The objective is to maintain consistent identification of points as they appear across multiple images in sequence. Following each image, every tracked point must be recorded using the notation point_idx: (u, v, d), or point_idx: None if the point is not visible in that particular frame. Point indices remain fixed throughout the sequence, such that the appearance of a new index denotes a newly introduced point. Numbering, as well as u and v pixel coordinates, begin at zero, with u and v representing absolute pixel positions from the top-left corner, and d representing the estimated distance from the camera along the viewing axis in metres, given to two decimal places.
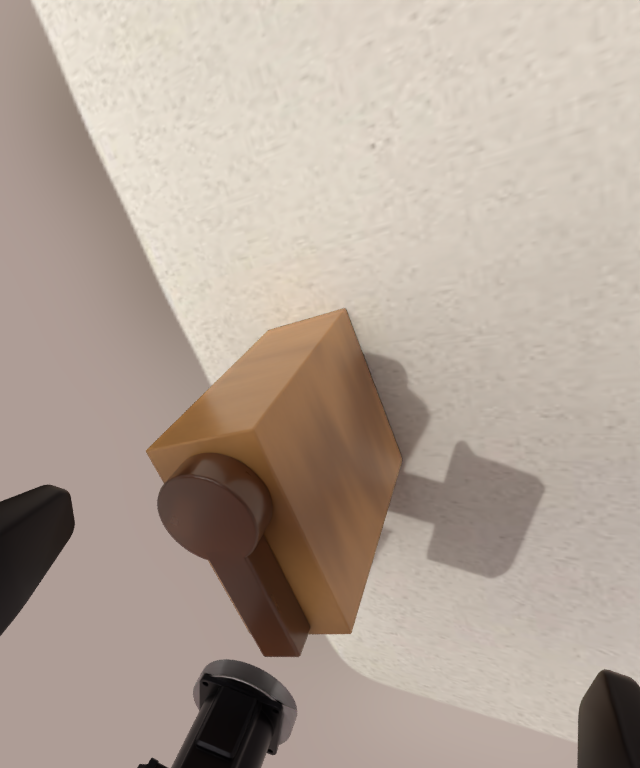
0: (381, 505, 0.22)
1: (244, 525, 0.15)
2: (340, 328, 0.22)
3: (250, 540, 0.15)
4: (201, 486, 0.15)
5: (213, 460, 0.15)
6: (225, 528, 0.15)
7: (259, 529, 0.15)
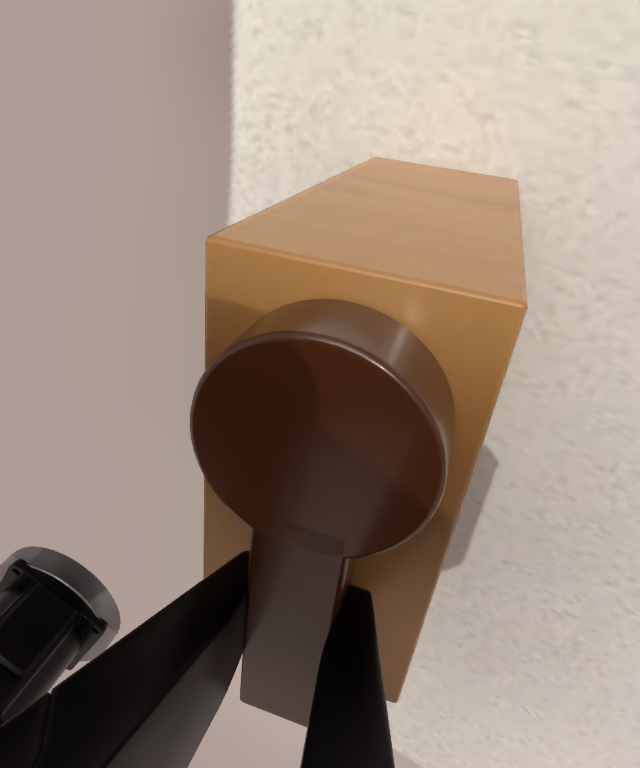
0: None
1: (404, 505, 0.06)
2: None
3: (391, 537, 0.07)
4: (364, 383, 0.06)
5: (392, 332, 0.06)
6: (348, 491, 0.06)
7: (423, 524, 0.07)
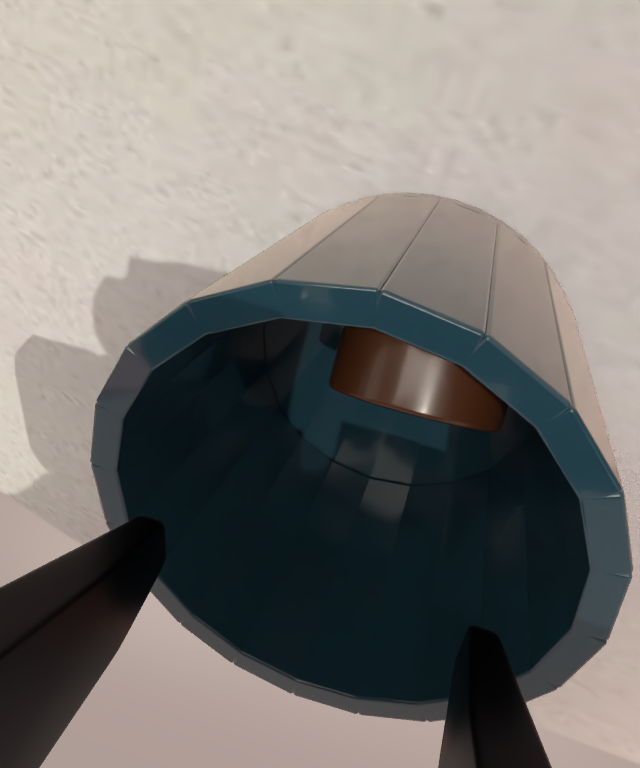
0: None
1: None
2: None
3: None
4: None
5: (472, 377, 0.08)
6: None
7: None
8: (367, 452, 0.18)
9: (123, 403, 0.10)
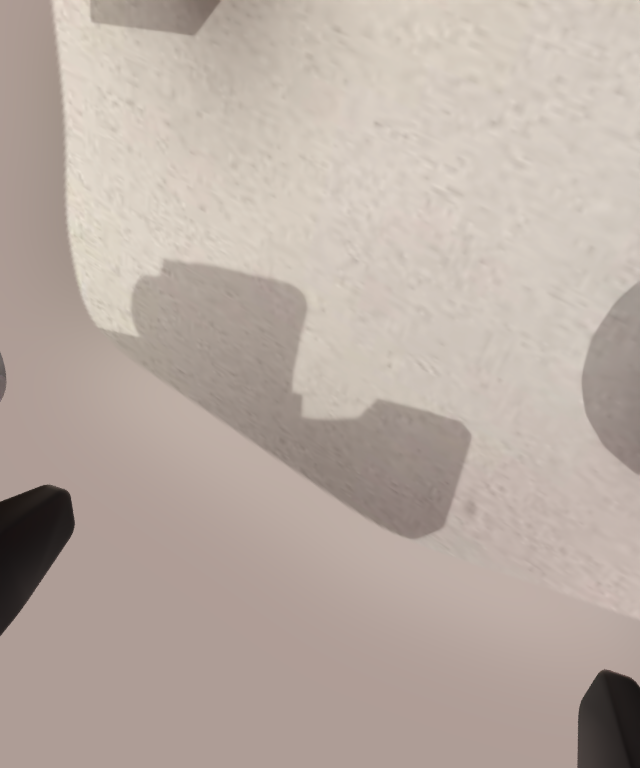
0: None
1: None
2: None
3: None
4: None
5: None
6: None
7: None
8: None
9: None
